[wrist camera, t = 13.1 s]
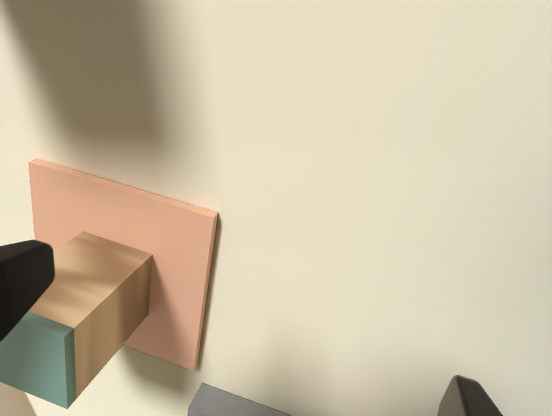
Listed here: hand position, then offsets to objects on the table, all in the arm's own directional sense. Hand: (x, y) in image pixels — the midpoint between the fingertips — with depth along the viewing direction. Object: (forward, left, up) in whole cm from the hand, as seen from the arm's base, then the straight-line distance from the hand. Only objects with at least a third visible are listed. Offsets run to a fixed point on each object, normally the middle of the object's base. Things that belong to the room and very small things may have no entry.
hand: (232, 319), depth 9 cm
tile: (+10, +10, -12) cm, 18 cm away
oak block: (+10, +10, -11) cm, 18 cm away
